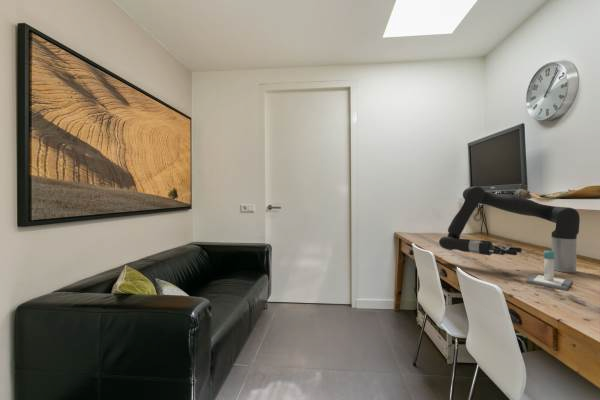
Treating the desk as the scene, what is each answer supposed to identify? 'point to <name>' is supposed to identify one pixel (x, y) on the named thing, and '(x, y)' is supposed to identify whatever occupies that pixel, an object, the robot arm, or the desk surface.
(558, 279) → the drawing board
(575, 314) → the desk surface
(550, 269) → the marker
